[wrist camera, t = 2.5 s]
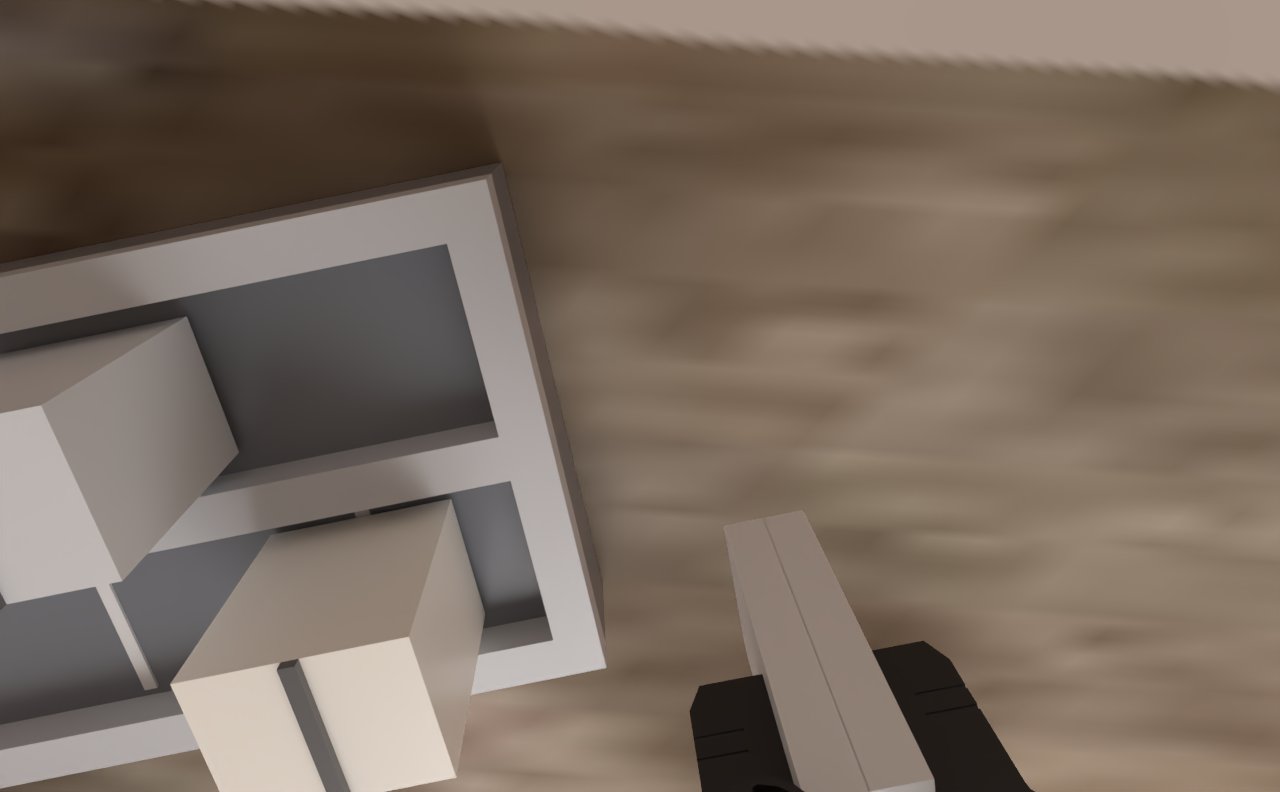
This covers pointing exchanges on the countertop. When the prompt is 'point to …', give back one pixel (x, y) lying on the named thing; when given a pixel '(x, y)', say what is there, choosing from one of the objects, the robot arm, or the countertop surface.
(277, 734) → the fader
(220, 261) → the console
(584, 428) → the countertop surface
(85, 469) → the fader
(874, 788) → the robot arm
